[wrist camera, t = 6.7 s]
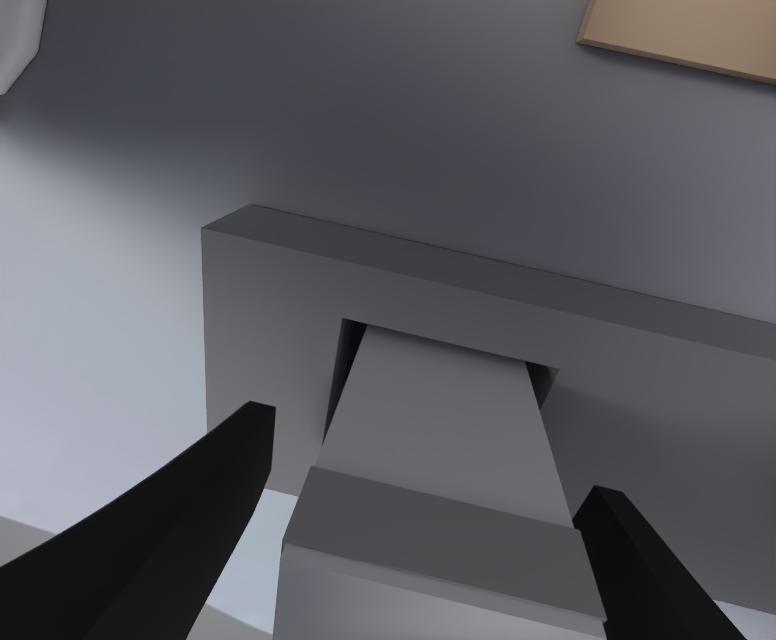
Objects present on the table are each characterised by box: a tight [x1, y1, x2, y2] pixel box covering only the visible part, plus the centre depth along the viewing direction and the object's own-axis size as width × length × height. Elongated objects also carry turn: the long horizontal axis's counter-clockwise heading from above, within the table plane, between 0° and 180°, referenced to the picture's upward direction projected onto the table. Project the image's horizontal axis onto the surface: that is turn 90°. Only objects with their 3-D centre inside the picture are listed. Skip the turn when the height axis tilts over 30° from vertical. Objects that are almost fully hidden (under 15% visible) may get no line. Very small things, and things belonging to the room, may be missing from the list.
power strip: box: [201, 204, 776, 615], centre depth 11 cm, size 26×8×3 cm, turn 79°
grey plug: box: [273, 324, 607, 640], centre depth 9 cm, size 4×4×8 cm
